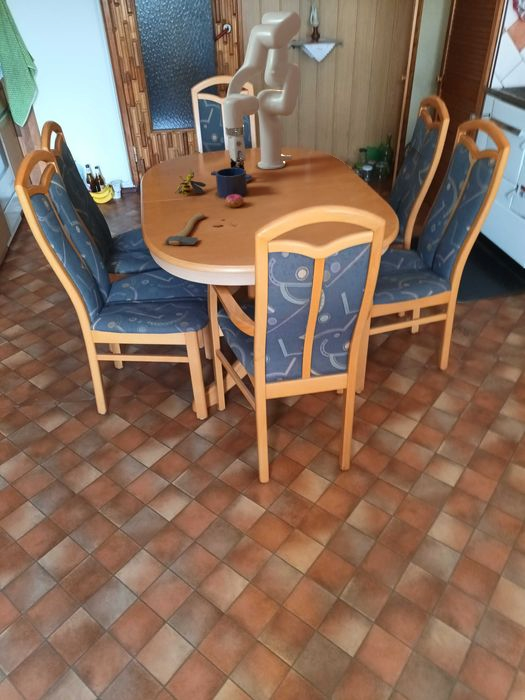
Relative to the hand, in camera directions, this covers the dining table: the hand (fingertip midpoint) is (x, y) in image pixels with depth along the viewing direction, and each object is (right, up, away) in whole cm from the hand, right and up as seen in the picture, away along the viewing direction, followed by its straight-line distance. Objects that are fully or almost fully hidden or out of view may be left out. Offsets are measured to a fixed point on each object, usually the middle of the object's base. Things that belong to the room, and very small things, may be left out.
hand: (237, 173), depth 225 cm
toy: (-20, -13, -12) cm, 26 cm away
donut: (0, -20, -24) cm, 32 cm away
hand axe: (-13, -34, -43) cm, 57 cm away
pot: (-2, -12, -13) cm, 18 cm away
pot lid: (0, -2, +1) cm, 2 cm away
